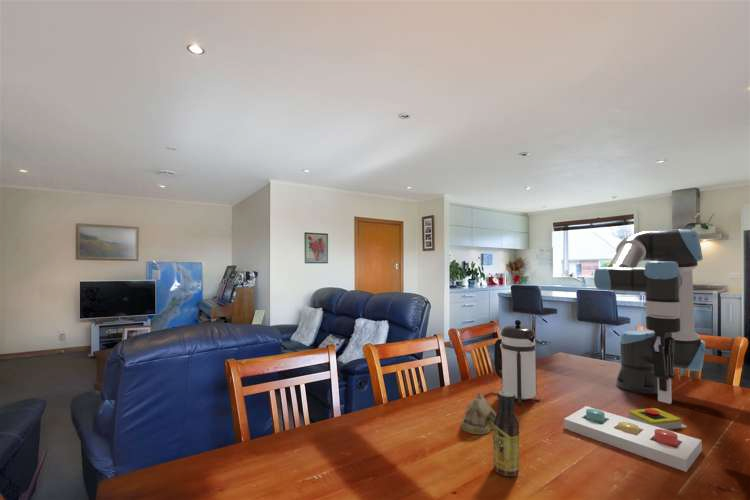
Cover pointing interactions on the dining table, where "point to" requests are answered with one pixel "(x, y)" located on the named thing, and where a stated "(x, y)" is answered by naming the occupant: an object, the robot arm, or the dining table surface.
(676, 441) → the red button
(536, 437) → the dining table surface
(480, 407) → the ceramic model
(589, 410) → the teal button
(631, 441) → the button panel
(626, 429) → the ochre button
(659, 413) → the emergency button
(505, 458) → the sauce bottle
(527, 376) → the coffee press
